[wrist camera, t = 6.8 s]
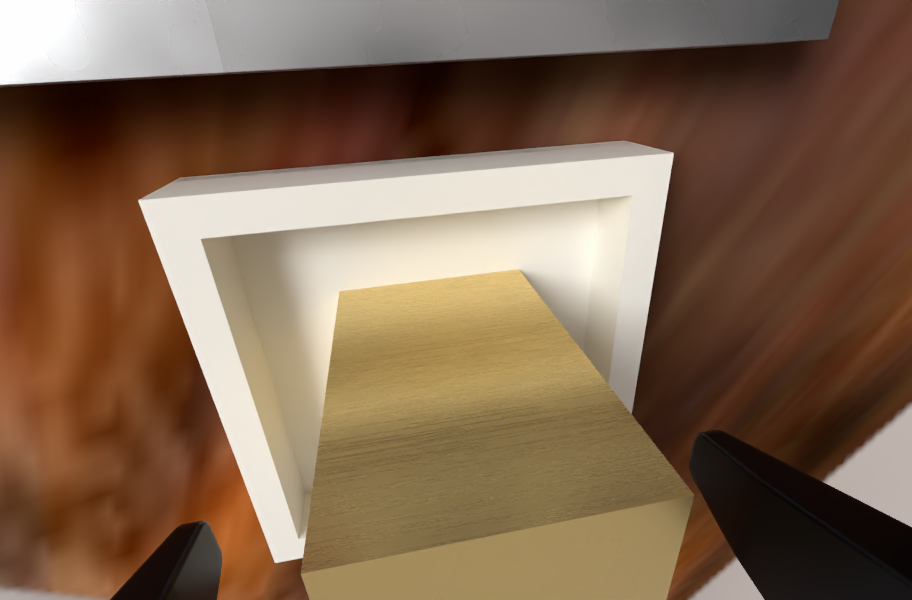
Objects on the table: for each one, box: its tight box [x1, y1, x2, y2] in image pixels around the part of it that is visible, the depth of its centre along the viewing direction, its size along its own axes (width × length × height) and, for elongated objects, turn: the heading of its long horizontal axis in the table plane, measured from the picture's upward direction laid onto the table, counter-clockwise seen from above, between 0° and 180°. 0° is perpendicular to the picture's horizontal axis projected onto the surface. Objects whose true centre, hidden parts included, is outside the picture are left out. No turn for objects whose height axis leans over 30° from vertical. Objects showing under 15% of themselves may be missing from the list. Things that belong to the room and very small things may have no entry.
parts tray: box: [138, 141, 674, 563], centre depth 12 cm, size 10×10×2 cm
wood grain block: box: [301, 269, 694, 600], centre depth 9 cm, size 4×4×7 cm
